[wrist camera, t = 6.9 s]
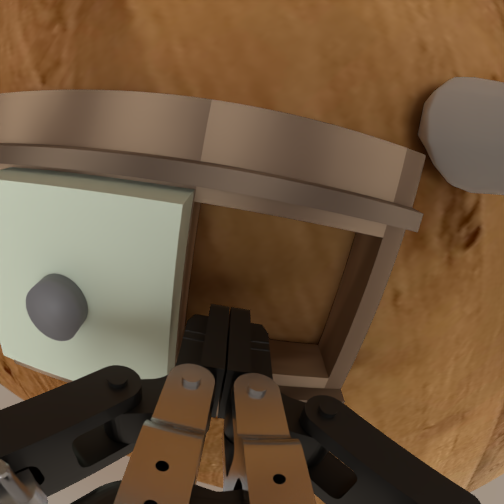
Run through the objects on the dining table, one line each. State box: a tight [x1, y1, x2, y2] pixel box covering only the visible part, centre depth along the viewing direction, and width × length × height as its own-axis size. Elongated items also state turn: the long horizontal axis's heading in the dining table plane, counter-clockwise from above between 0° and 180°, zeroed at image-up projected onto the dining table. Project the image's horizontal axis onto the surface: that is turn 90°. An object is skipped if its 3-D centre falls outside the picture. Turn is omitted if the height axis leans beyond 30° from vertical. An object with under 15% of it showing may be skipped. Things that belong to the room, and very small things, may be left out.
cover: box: [0, 167, 194, 381], centre depth 12 cm, size 9×9×4 cm
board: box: [0, 90, 426, 416], centre depth 15 cm, size 20×16×4 cm
